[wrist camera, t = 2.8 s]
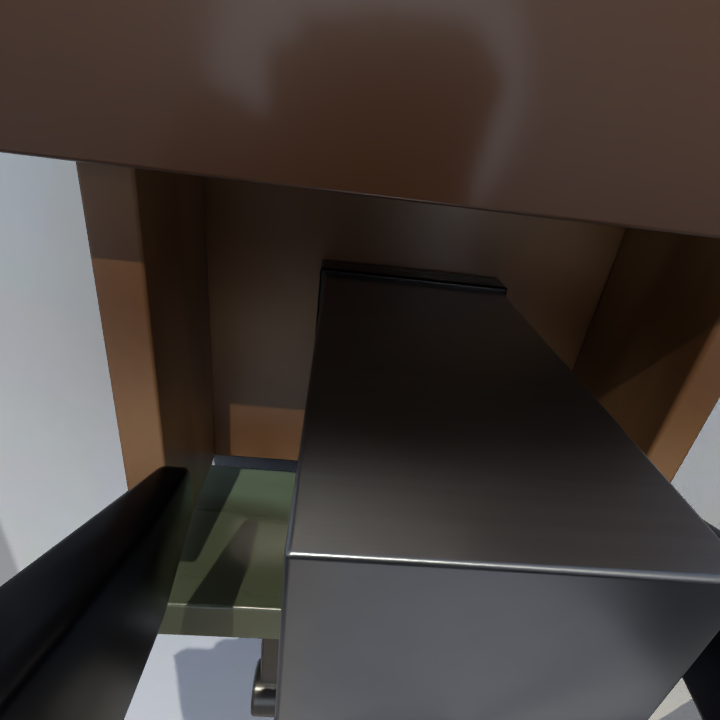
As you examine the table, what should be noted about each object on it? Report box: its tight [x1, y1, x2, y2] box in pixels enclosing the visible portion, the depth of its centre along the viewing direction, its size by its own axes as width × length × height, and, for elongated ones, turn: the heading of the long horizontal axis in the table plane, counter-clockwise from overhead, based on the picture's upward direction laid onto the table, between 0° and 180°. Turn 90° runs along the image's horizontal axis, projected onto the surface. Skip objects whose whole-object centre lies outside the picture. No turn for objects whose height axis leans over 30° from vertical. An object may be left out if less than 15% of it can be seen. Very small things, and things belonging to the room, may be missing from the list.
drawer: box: [76, 161, 720, 717], centre depth 11 cm, size 19×12×5 cm, turn 173°
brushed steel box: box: [274, 259, 720, 720], centre depth 8 cm, size 5×4×8 cm
